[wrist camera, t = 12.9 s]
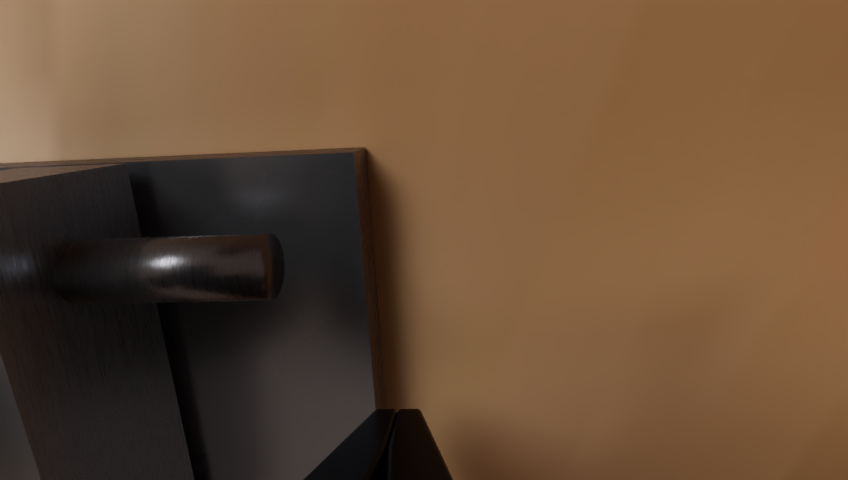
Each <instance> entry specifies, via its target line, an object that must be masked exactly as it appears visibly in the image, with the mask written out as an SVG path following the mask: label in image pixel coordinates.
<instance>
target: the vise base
mask: <svg viewBox="0 0 848 480" xmlns="http://www.w3.org/2000/svg"><path fill="white" fill-rule="evenodd" d="M124 163H126V165H127V169H128V174H129V179H130V183H131V188H132V192H133V197H134V202H135V206H136V211H137V216H138V220H139V225H140V230H141V234H142V237H173V236H203V235H234V234H264V233H272V234H275V235H276V236H277V238H278V239H279V241H280V243H281V246H282V250H283V255H284V280H283V285H282V288H281V291H280V293H279V295H278V297H277V298H276V299H274V300H268V301H225V302H182V303H156V304H157V308H158V313H159V318H160V322H161V327H162V332H163V336H164V341H165V345H166V350H167V355H168V359H169V364H170V369H171V373H172V378H173V383H174V387H175V392H176V397H177V401H178V406H179V410H180V415H181V420H182V424H183V429H184V434H185V438H186V443H187V448H188V452H189V457H190V461H191V466H192V471H193V475H194V480H303V479H304V478H305V477H307V476H308V475H309V474H310V473H311V472H312V471H313V470H314V469H315V468H316V467H317V466H318V465H319V464H320V463H321V462H322V461H323V460H324V459H325V458H326V457H327V456H328V455H329V454H330V453H331V452H332V451H333V450H334V449H335V448H336V447H337V446H339V445H340V444H341V443H342V442H343V441H344V440H345V439H346V438H347V437H348V436H349V435H350V434H351V433H352V432H353V431H354V430H355V429H356V428H357V427H358V426H359V425H360V424H361V423H362V422H363V421H364V420H365V419H366V418H367V417H368V416H369V415H371V414H372V413H373V412H374V411H375V410H377V409H386V403H385V390H384V377H383V365H382V352H381V339H380V327H379V314H378V301H377V289H376V276H375V263H374V250H373V238H372V225H371V212H370V200H369V187H368V174H367V162H366V149H365V147H362V148H339V149H316V150H294V151H271V152H249V153H226V154H203V155H181V156H158V157H135V158H113V159H90V160H67V161H45V162H22V163H0V170H8V169H16V168H31V167H54V166H78V165H101V164H124Z"/></svg>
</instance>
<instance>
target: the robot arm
mask: <svg viewBox="0 0 848 480" xmlns="http://www.w3.org/2000/svg"><path fill="white" fill-rule="evenodd" d="M303 480H453V479H452V476H451V474H450V472H449V470H448V468H447V466H446V464H445V461H444V459H443V457H442V455H441V453H440V451H439V449H438V447H437V444H436V442H435V440H434V438H433V436H432V434H431V432H430V429H429V427H428V425H427V423H426V421H425V419H424V417H423V415H422V412H421V411H420V410H419V409H400V410H399V411H398V412H397V410H396V409H377V410H375V411H374V412H373V413H372V414H371V415H369V416H368V417H367V418H366V419H365V420H364V421H363V422H362V423H361V424H360V425H359V426H358V427H357V428H356V429H355V430H354V431H353V432H352V433H351V434H350V435H349V436H348V437H347V438H346V439H345V440H344V441H343V442H342V443H341V444H340V445H339V446H337V447H336V448H335V449H334V450H333V451H332V452H331V453H330V454H329V455H328V456H327V457H326V458H325V459H324V460H323V461H322V462H321V463H320V464H319V465H318V466H317V467H316V468H315V469H314V470H313V471H312V472H311V473H310V474H309V475H308V476H307V477H305V478H304V479H303Z"/></svg>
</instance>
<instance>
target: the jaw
mask: <svg viewBox="0 0 848 480" xmlns="http://www.w3.org/2000/svg"><path fill="white" fill-rule="evenodd" d="M283 280H284V255H283V250H282V246H281V243H280V241H279V239H278V238H277V236H276V235H275V234H272V233H264V234H234V235H203V236H173V237H142V234H141V230H140V225H139V220H138V216H137V211H136V206H135V202H134V197H133V192H132V188H131V183H130V179H129V174H128V169H127V165H126V163H124V164H101V165H78V166H54V167H31V168H16V169H8V170H0V480H194V475H193V471H192V466H191V461H190V457H189V452H188V448H187V443H186V438H185V434H184V429H183V424H182V420H181V415H180V410H179V406H178V401H177V397H176V392H175V387H174V383H173V378H172V373H171V369H170V364H169V359H168V355H167V350H166V345H165V341H164V336H163V332H162V327H161V322H160V318H159V313H158V308H157V304H156V303H182V302H225V301H268V300H274V299H276V298H277V297H278V295H279V293H280V291H281V288H282V285H283Z"/></svg>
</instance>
